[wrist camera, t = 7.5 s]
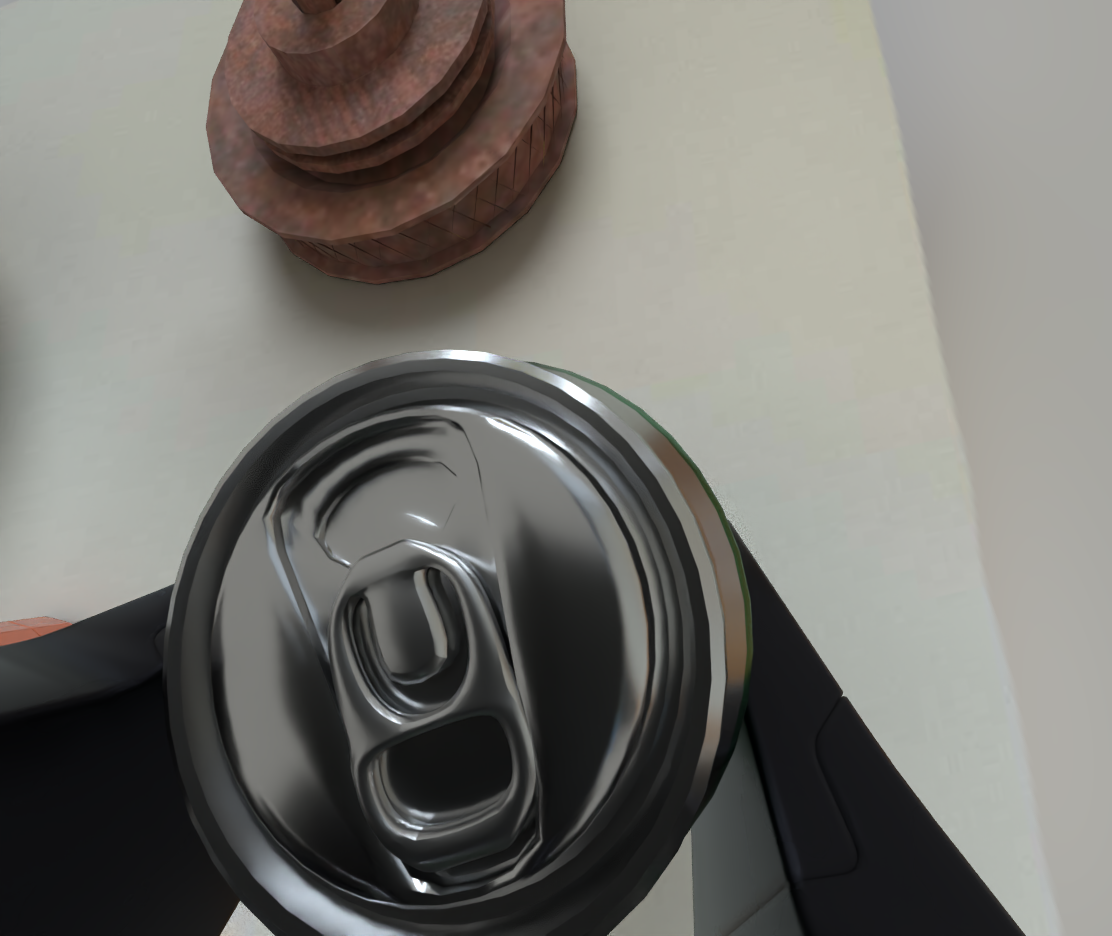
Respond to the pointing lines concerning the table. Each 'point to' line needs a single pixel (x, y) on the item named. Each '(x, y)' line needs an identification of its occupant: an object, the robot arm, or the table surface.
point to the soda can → (455, 654)
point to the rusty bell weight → (391, 125)
